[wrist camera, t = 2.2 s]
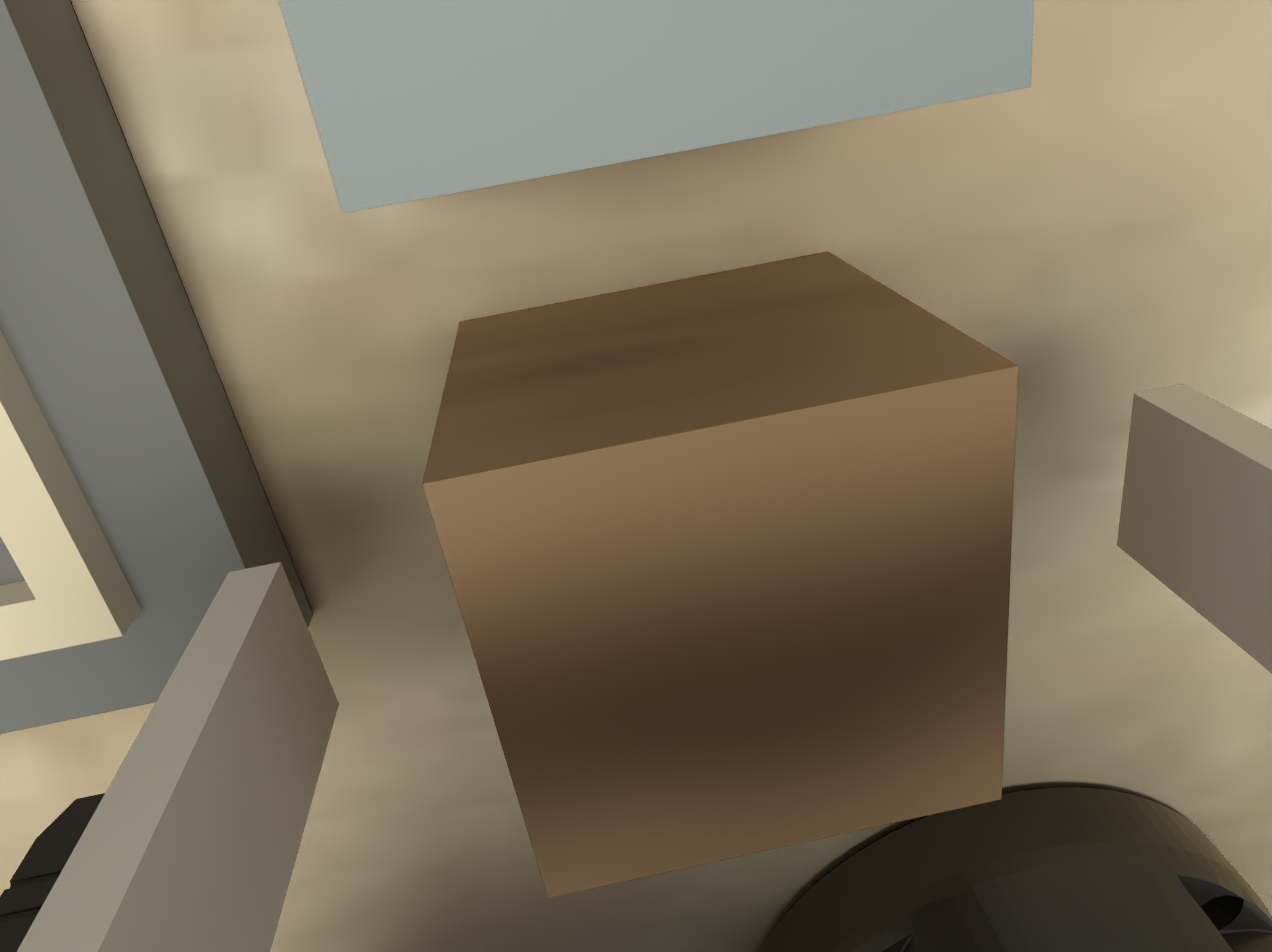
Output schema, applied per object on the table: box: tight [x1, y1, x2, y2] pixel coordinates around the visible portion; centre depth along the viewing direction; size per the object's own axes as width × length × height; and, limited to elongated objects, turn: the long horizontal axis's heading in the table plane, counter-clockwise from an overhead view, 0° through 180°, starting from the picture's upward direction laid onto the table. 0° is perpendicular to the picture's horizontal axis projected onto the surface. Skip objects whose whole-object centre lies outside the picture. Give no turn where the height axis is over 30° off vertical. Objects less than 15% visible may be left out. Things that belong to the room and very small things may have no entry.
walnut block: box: [422, 252, 1018, 898], centre depth 15 cm, size 7×7×7 cm
